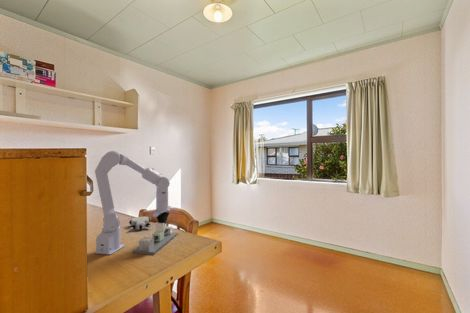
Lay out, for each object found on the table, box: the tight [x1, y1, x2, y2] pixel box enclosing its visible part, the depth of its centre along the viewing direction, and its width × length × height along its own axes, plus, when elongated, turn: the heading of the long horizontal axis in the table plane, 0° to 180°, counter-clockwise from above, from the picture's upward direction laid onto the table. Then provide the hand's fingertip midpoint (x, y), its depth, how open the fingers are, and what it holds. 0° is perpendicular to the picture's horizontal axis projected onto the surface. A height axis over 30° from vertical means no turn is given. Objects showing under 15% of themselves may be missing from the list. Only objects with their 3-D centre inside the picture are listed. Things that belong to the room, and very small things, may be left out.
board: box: [132, 225, 179, 255], centre depth 108 cm, size 24×10×5 cm, turn 170°
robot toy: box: [128, 216, 152, 231], centre depth 131 cm, size 12×4×15 cm
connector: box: [138, 236, 154, 251], centre depth 99 cm, size 5×5×4 cm
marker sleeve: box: [151, 222, 166, 241], centre depth 108 cm, size 5×4×7 cm
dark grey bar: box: [153, 227, 168, 241], centre depth 107 cm, size 20×1×1 cm, turn 170°
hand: (162, 227), depth 112 cm, fingers closed
